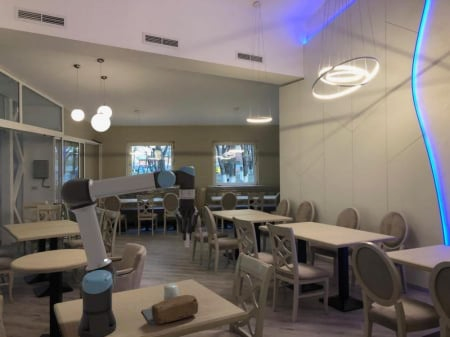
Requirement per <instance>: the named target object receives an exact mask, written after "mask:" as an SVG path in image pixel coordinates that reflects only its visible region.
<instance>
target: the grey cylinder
mask: <svg viewBox="0 0 450 337" xmlns="http://www.w3.org/2000/svg"><path fill="white" fill-rule="evenodd" d="M178 296H179V286H178V284H176V283H167V284H165V285H163V301H164V300H167V299H170V298H174V297H178Z"/></svg>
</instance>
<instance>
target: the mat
mask: <svg viewBox="0 0 450 337" xmlns="http://www.w3.org/2000/svg"><path fill="white" fill-rule="evenodd" d="M141 312H142V314H143V315H144V318H145V319H146V321H147V322H148V323H149V325H150V326H152V325H153V326H154V325H157V324H159V323H158V322H156V321H155V320H154V319H153V317H152V307H150V308H146V309H141ZM186 318H187V317H185V318H184V319H186Z"/></svg>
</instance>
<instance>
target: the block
mask: <svg viewBox="0 0 450 337" xmlns="http://www.w3.org/2000/svg"><path fill="white" fill-rule="evenodd" d="M151 308H152V317H153V319H154V320H155V321H156V322H158V324H164V323H165V324H166V323H170V322H175V321H178V320H181V319H186V318H189V317H192V316H194V315H196V314H198V312H199V302H198V300H197V297H196V296H195V295H192V294H191V295H190V294H183V295H178V297H174V298H170V299H167V300H164V299H163V300H162V301H160V302H158V303H155V304H154V305H152V306H151ZM185 317H186V318H185Z"/></svg>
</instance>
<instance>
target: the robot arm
mask: <svg viewBox="0 0 450 337" xmlns="http://www.w3.org/2000/svg"><path fill="white" fill-rule="evenodd" d="M195 182H196V172H195V167H194V166H193V165H192V166H191V165H190V166H189V165H187V166H186V165H185V166H184V165H183V166H182V165H181V166H179V167H178V169H177V170H171V169H164V170H163V169H157V170H154V172H146V173H141V174H140V173H139V174H133V175H126V176H117V177H112V178H103V179H98V180H93V179H92V178H88V179H87V178H84V177H80V178H78V177H77V178H73V179H72V178H71V179H68V180H67V181H65V182H63V184H62V186H61V187H60V190H59V191H60V192H59V194H60V198H61V200H62V201H63V202H64V203H65V204H66V205H67V206H68V207H69V209H70V210H69V211H70V212H72V213H74V215H75V219H76V223H77V227H78V230H79V235H80V238H81V242H82V246H83V250H84V253H85V257H86V260H87V266H86V267H85V273H86V274H85V275H84V277H83V278H82V281H81V282H82V284H81V287H82V313H81V317H80V321H79V323H78V326H77V335H78V336H80V337H106V336H108V335H110V334H112V333H113V332H115V330H116V329H117V320H116V319H117V318H116V317H115V314H114V311H113V291H114V288H115V285H116V284H117V281H118V273H117V269H116V268H115V266H114V265H113V261H112V259H110V258H108V254H107V251H106V247H105V243H104V239H103V236H102V235H103V234H102V232H101V231H102V230H101V228H100V225H99V219H98V216H97V211H96V207H97V205H98V201H97V199H101V198H103V199H104V198H109V197H114V196H120V195H122V196H123V195H127V194H133V193H139V192H146V191H152V190H153V191H154V190H158V189H169V188H172V187H177V186H178V189H179V190H178V198H179V199H178V203H179V204H178V207H179V208H178V210H177V211H176V212H173V216H174V217H175V220H176V224H177V229H178V232H179V233H181V234H182V241H184V248H190V241H191V240H192V234H193V233H194V232H196V229H197V228H196V227H197V222H198V220H199V215H200V214H201V212H200V211H198V210H197V209H196V207H195V206H196V200H195V197H196V194H195V193H196V192H195V191H196V183H195ZM180 217H181V218H180ZM181 219H182V222H181Z"/></svg>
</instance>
